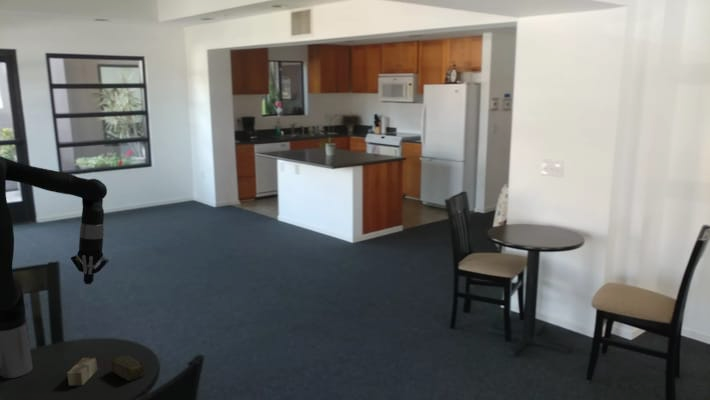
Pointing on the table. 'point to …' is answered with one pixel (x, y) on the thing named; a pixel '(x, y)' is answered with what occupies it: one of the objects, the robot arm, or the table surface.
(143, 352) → the table surface
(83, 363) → the maple block
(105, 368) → the table surface
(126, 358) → the stone block
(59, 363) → the table surface
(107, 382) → the table surface
